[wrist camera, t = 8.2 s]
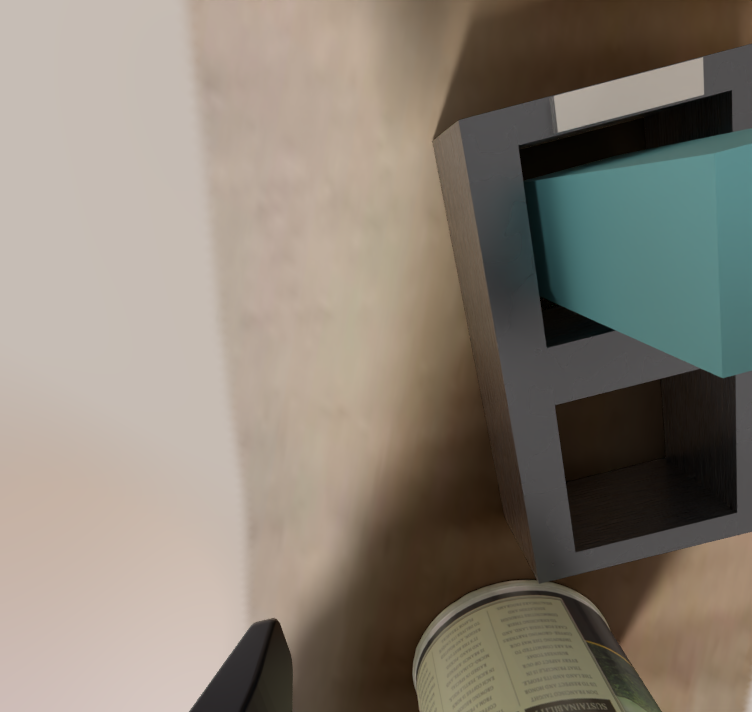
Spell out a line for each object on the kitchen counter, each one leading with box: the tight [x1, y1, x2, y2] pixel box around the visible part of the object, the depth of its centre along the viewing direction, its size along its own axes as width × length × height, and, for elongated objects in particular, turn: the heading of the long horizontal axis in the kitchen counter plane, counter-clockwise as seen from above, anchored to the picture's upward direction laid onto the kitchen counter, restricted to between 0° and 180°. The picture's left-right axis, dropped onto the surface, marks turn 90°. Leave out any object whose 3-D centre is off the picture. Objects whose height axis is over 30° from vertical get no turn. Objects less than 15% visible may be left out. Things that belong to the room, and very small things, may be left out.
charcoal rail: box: [432, 44, 752, 584], centre depth 17 cm, size 16×9×4 cm, turn 14°
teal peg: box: [523, 128, 752, 378], centre depth 13 cm, size 4×4×10 cm
